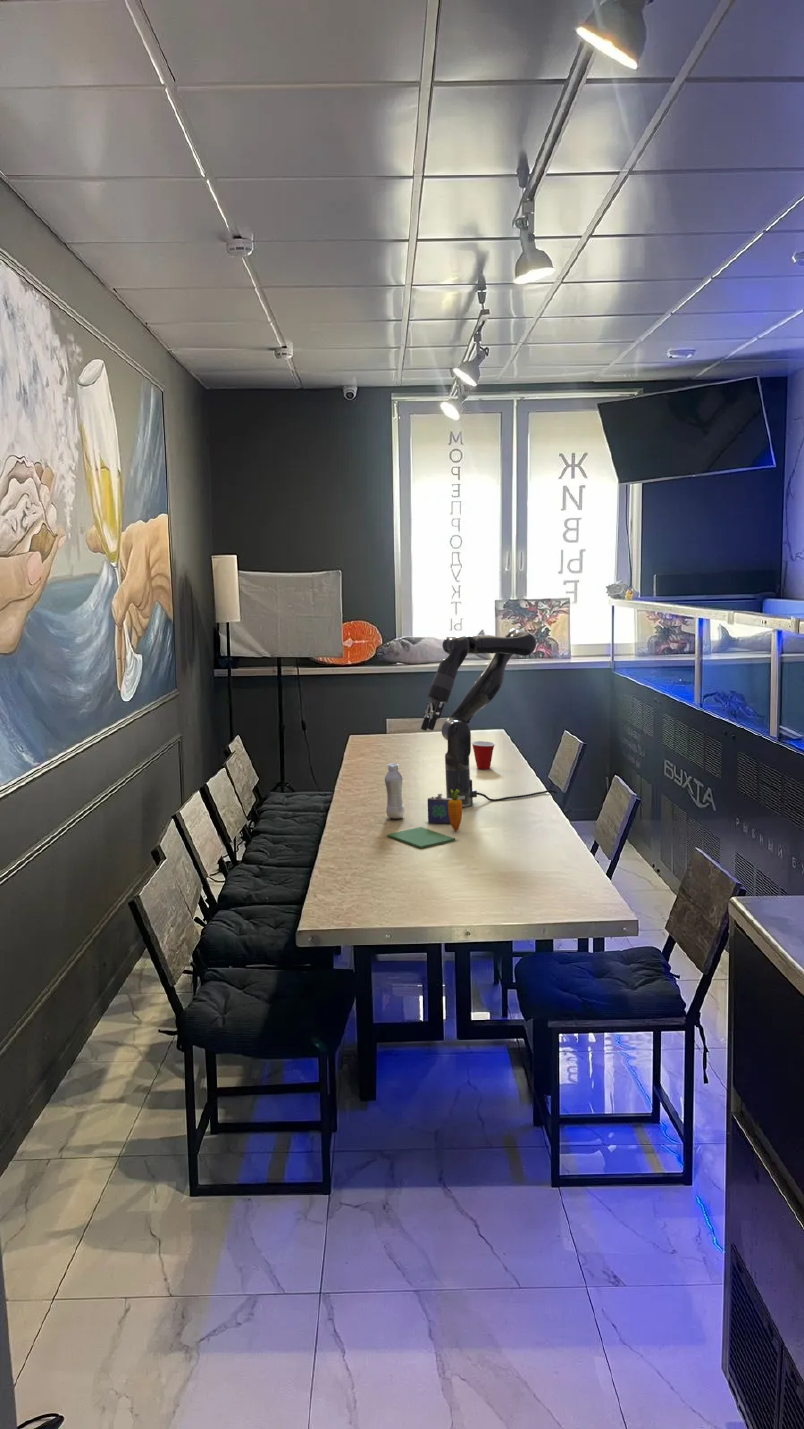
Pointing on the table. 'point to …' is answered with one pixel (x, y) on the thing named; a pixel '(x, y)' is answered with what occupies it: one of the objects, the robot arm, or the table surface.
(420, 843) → the green mat
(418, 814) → the table surface
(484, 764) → the plastic cup
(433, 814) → the flask
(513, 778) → the table surface
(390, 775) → the plastic bottle
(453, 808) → the carrot
